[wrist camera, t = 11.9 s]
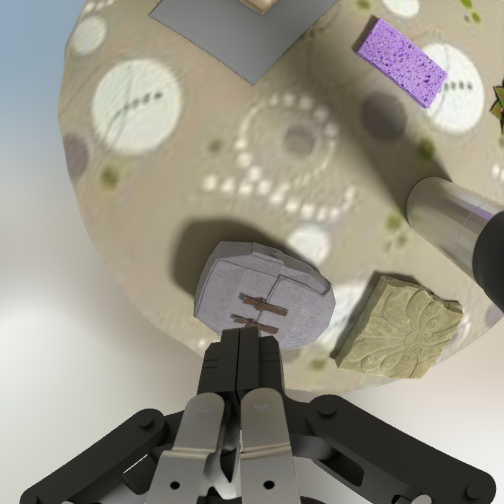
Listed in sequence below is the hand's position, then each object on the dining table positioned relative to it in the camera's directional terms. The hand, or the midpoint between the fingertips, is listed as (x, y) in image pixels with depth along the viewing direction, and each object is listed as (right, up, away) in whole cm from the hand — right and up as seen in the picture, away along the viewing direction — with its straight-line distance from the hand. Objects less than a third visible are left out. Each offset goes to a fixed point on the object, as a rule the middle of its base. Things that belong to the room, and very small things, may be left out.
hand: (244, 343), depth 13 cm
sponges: (+21, +30, +22) cm, 42 cm away
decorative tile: (+27, -10, +38) cm, 48 cm away
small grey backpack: (+3, -2, +35) cm, 35 cm away
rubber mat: (+1, +38, +18) cm, 42 cm away
